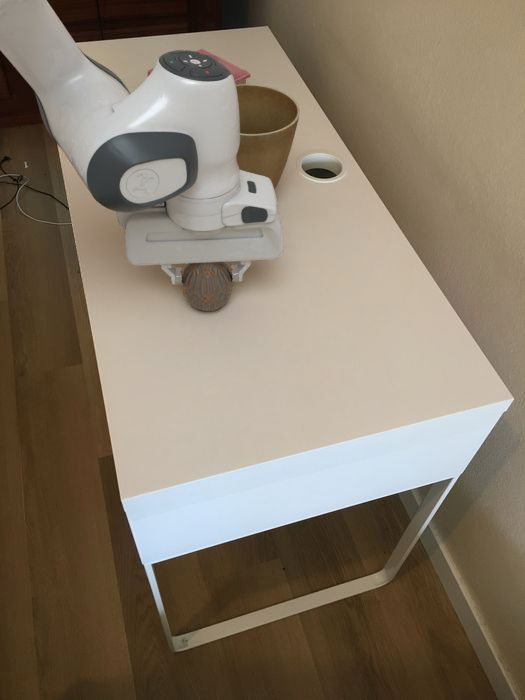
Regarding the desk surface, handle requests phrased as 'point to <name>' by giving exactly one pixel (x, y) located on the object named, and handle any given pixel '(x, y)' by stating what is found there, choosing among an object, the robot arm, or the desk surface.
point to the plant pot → (265, 130)
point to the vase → (207, 285)
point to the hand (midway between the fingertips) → (207, 280)
